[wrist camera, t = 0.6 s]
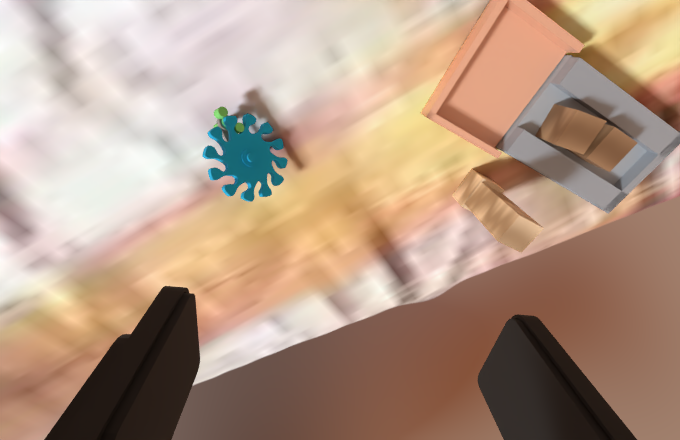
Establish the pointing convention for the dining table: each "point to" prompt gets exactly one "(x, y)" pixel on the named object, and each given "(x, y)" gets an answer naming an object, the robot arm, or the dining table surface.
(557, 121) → the walnut cube
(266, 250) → the dining table surface
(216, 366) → the dining table surface
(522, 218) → the pale wooden block
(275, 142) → the teal virus model
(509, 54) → the tray
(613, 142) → the walnut cube
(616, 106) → the slot board
